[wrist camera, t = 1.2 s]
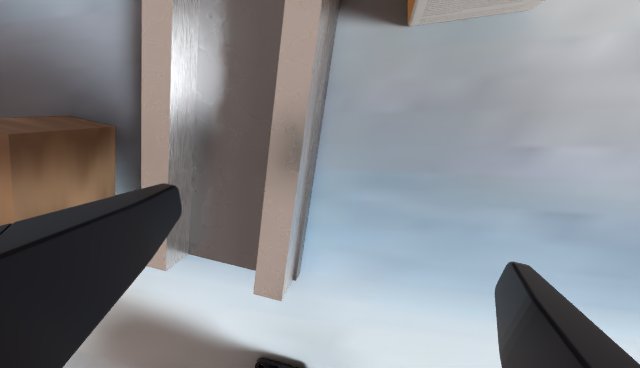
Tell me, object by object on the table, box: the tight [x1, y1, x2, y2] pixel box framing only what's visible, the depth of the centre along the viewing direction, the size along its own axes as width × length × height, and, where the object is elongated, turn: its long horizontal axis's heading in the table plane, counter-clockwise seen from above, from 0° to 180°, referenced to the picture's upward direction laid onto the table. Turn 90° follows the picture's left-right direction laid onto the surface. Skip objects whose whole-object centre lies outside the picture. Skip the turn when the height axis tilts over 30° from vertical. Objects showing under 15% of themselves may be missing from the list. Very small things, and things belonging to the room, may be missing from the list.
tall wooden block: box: [0, 116, 116, 226], centre depth 22 cm, size 14×4×7 cm, turn 170°
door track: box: [141, 0, 340, 301], centre depth 19 cm, size 22×10×4 cm, turn 171°
